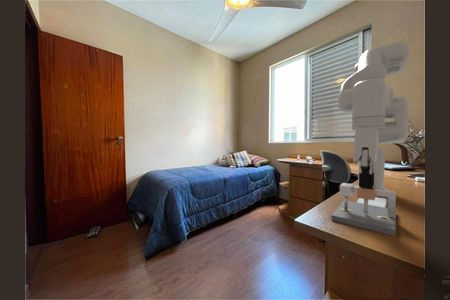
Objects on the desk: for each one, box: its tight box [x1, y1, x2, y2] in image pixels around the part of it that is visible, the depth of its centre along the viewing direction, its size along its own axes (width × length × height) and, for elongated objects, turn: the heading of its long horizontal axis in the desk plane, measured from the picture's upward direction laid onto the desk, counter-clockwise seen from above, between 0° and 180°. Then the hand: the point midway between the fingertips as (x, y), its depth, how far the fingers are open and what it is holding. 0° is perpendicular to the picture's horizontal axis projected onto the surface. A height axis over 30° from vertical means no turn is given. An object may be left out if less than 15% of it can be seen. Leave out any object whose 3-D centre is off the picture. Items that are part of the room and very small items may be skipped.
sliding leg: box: [356, 168, 376, 214], centre depth 54 cm, size 3×4×14 cm
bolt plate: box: [330, 200, 397, 237], centre depth 56 cm, size 18×14×2 cm
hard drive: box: [356, 196, 388, 208], centre depth 68 cm, size 2×8×12 cm
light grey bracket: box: [339, 182, 397, 219], centre depth 55 cm, size 5×13×8 cm, turn 47°
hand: (366, 185), depth 54 cm, fingers closed on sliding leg, 3 cm apart
